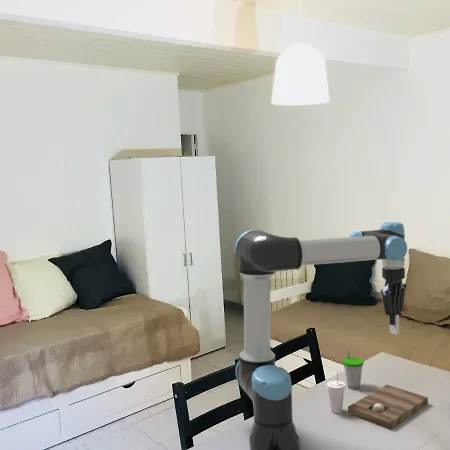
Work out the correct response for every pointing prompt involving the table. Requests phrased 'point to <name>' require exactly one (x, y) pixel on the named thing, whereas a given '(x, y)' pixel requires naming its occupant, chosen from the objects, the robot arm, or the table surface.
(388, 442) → the table surface
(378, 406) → the ball
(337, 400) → the smoothie
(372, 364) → the table surface
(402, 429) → the table surface
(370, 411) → the brown wooden flat board
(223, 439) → the table surface
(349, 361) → the cup
